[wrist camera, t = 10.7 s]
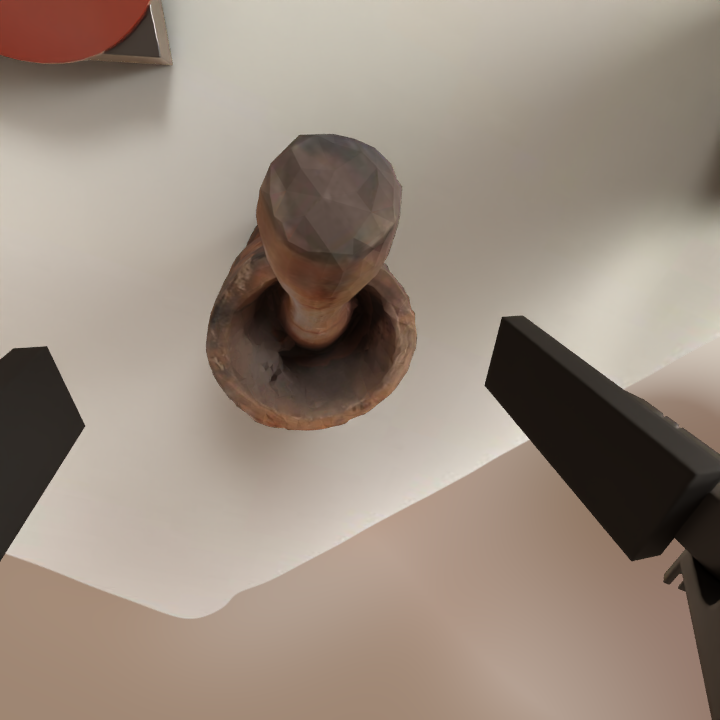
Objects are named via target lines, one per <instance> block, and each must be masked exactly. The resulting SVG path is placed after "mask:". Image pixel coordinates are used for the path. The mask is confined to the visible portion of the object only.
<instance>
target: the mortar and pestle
mask: <svg viewBox="0 0 720 720" xmlns="http://www.w3.org/2000/svg"><path fill="white" fill-rule="evenodd" d="M401 196H402V186H401V184H400V183H399V181H398V180H397V178H396V175H395V172H394V169H393V167H392V164H391V163H390V162H389V161H388V160H387V159H386V158H385V157H384V156H383V155H382V154H380V153H379V152H378V151H377V150H376V149H375V148H374V147H372V146H370V145H367V144H365V143H363V142H361V141H358V140H356V139H353V138H348V137H344V136H339V135H335V134H315V135H299V136H298V137H297V138H296V139H295V140H294V141H293V142H292V143H291V144H290V145H289V146H288V147H287V148H286V149H285V150H284V151H283V152H282V153H281V154H280V155H279V156H278V157H277V158H276V159H275V160H274V161H273V162H272V163H271V164H270V166H269V169H268V171H267V173H266V176H265V178H264V180H263V183H262V185H261V188H260V192H259V199H258V204H257V209H256V218H257V224H258V225H257V226H256V228H255V230H254V231H253V233H252V235H251V237H250V239H249V241H248V243H247V247H245V248H244V250H243V251H242V252H241V253H240V254H239V255H238V256H237V258H236V259H235V261H234V263H233V264H232V266H231V269H230V271H229V274H228V276H227V278H226V279H225V281H224V283H223V286H222V288H221V290H220V292H219V294H218V296H217V298H216V301H215V303H214V306H213V309H212V311H211V315H210V320H209V325H208V332H207V341H206V353H207V357H208V361H209V365H210V367H211V370H212V373H213V375H214V377H215V379H216V380H217V382H218V384H219V386H220V387H221V388H222V389H223V391H224V392H225V393H226V395H227V396H228V397H229V398H230V399H231V400H232V401H233V402H234V403H235V404H236V406H237V407H239V408H240V409H242V410H243V411H244V412H246V413H247V414H248V415H249V416H251V417H252V419H253V420H254V421H255V422H258V423H260V424H263V425H266V426H269V427H274V428H286V429H287V430H319V429H325V428H329V427H333V426H338V425H342V424H345V423H347V422H348V421H349V420H350V419H352V418H355V417H357V416H360V415H364V414H366V413H367V412H369V411H370V410H371V409H373V408H374V407H375V406H376V405H377V404H379V403H380V402H381V401H382V400H384V399H385V398H386V397H388V396H389V395H390V394H391V393H392V392H393V391H394V390H395V388H396V387H397V386H398V384H399V383H400V381H401V380H402V378H403V377H404V375H405V374H406V373H407V371H408V369H409V366H410V362H411V359H412V356H413V354H414V351H415V349H416V341H417V332H416V326H415V313H414V312H413V310H412V309H411V305H410V300H409V297H408V295H407V294H406V292H405V290H404V288H403V287H402V285H401V284H400V283H399V282H398V281H397V280H396V278H395V277H394V275H393V274H392V273H391V272H390V271H389V269H388V266H387V265H386V264H385V263H384V261H385V260H386V258H387V256H388V254H389V251H390V248H391V245H392V242H393V239H394V236H395V233H396V230H397V226H398V222H399V218H400V210H401Z"/></svg>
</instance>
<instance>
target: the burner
mask: <svg viewBox="0 0 720 720" xmlns="http://www.w3.org/2000/svg"><path fill="white" fill-rule="evenodd" d="M151 2H152V0H0V55H1V56H5V57H9V58H13V59H17V60H21V61H26V62H33V63H41V64H67V63H73V62H78V61H84V60H87V59H90V58H92V57H95V56H98V55H101V54H103V53H105V52H106V51H108V50H110V49H111V48H113V47H115V46H116V45H118V44H119V43H120V42H121V41H122V40H123V39H125V38H126V37H127V36H128V35H129V34H130V33H131V32H132V31H133V30H134V28H135V27H136V26H137V25H138V23H139V22H140V21H141V19H142V18H143V17H144V15H145V13H146V11H147V9H148V7H149V6H150V4H151Z"/></svg>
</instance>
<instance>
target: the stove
mask: <svg viewBox="0 0 720 720" xmlns="http://www.w3.org/2000/svg"><path fill="white" fill-rule="evenodd" d="M87 60H95V61H111V62H127V63H143V64H159V65H173V62H172V56H171V51H170V46H169V40H168V35H167V29H166V24H165V19H164V13H163V8H162V3H161V0H152V2H151V4H150V6H149V7H148V9H147V11H146V13H145V15H144V17H143V18H142V19H141V21H140V22H139V23H138V25H137V26H136V27H135V28H134V30H133V31H132V32H131V33H130V34H129V35H128V36H127V37H126V38H125V39H123V40H122V41H121V42H120V43H119V44H118V45H116V46H115V47H113V48H111V49H110V50H108V51H106V52H105V53H103V54H101V55H98V56H95V57H92V58H90V59H87Z"/></svg>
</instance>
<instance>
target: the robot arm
mask: <svg viewBox="0 0 720 720" xmlns="http://www.w3.org/2000/svg"><path fill="white" fill-rule="evenodd" d="M485 387H486V388H487V389H488V390H489V391H490V392H491V394H492V395H493V396H494V397H495V398H496V400H497V401H498V402H499V403H500V404H501V406H502V407H503V408H504V409H505V410H506V412H507V413H508V414H509V415H510V416H511V418H512V419H513V420H514V421H515V422H516V424H517V425H518V426H519V427H520V428H521V430H522V431H523V432H524V433H525V434H526V436H527V437H528V438H529V439H530V440H531V442H532V443H533V444H534V445H535V446H536V448H537V449H538V450H539V451H540V452H541V454H542V455H543V456H544V457H545V458H546V460H547V461H548V462H549V463H550V464H551V466H552V467H553V468H554V469H555V470H556V471H557V473H558V474H559V475H560V476H561V478H562V479H563V480H564V481H565V482H566V483H567V485H568V486H569V487H570V488H571V489H572V491H573V492H574V493H575V494H576V495H577V497H578V498H579V499H580V500H581V501H582V503H583V504H584V505H585V506H586V507H587V509H588V510H589V511H590V512H591V513H592V515H593V516H594V517H595V518H596V519H597V521H598V522H599V523H600V524H601V525H602V527H603V528H604V529H605V530H606V531H607V533H609V535H610V536H611V537H612V539H613V540H614V541H615V542H616V543H617V544H618V546H619V547H620V548H621V549H622V550H623V552H624V553H625V554H626V555H627V556H628V558H629V559H630V560H631V561H635V560H640V559H644V558H649V557H654V556H658V555H661V554H662V553H663V551H664V550H665V549H666V548H667V546H668V545H669V544H670V542H671V541H672V540H673V539H674V538H675V539H676V540H677V541H678V542H680V544H681V545H682V546H683V547H685V550H684V551H683V553H682V554H681V555H680V556H679V557H678V559H677V560H676V561H675V562H674V563H673V565H672V566H671V567H670V568H669V569H668V570H667V571H666V573H665V574H664V581H663V582H664V583H666V584H671V582H672V581H673V580H674V579H675V578H676V577H677V576H678V574H682V575H683V581H682V583H681V584H680V585H679V587H678V589H680V590H683V591H685V592H686V595H687V600H688V605H689V609H690V614H691V619H692V624H693V629H694V634H695V639H696V644H697V649H698V654H699V659H700V664H701V668H702V673H703V678H704V683H705V688H706V693H707V698H708V703H709V708H710V713H711V717H712V720H720V454H719V453H717V452H716V451H714V450H713V449H712V448H710V447H709V446H708V445H706V444H705V443H703V442H702V441H701V440H699V439H698V438H696V437H695V436H694V435H692V434H691V433H690V432H688V431H687V430H685V429H684V428H679V425H678V424H677V423H676V422H674V421H673V420H672V419H670V418H669V417H667V416H665V417H664V416H663V413H662V412H660V411H659V410H658V409H656V408H655V407H654V406H652V405H651V404H649V403H648V402H647V401H645V400H644V399H641V398H639V397H637V396H635V395H633V394H631V393H629V392H627V391H625V390H623V389H622V388H620V387H619V386H618V385H616V384H615V383H614V382H612V381H611V380H610V379H608V378H607V377H606V376H604V375H603V374H601V373H600V372H599V371H597V370H596V369H595V368H593V367H592V366H591V365H589V364H588V363H587V362H585V361H584V360H582V359H581V358H580V357H578V356H577V355H576V354H574V353H573V352H572V351H570V350H569V349H568V348H566V347H565V346H563V345H562V344H561V343H559V342H558V341H557V340H555V339H554V338H553V337H551V336H550V335H549V334H547V333H546V332H544V331H543V330H542V329H540V328H539V327H538V326H536V325H535V324H534V323H532V322H531V321H530V320H528V319H527V318H526V317H524V316H509V317H502V319H501V323H500V327H499V330H498V334H497V338H496V342H495V346H494V350H493V354H492V358H491V362H490V366H489V370H488V374H487V378H486V381H485ZM84 427H85V424H84V422H83V420H82V418H81V416H80V414H79V412H78V410H77V408H76V406H75V404H74V402H73V399H72V397H71V395H70V393H69V391H68V389H67V387H66V385H65V383H64V381H63V379H62V377H61V374H60V372H59V370H58V368H57V366H56V364H55V362H54V360H53V358H52V356H51V354H50V352H49V349H48V347H47V346H46V347H30V348H15V349H12V350H11V351H10V352H9V353H7V354H6V355H5V356H4V357H3V358H2V359H0V561H1V559H2V558H3V556H4V555H5V553H6V551H7V550H8V548H9V547H10V545H11V543H12V542H13V540H14V539H15V537H16V535H17V534H18V532H19V531H20V529H21V528H22V526H23V524H24V523H25V521H26V520H27V518H28V516H29V515H30V513H31V512H32V510H33V508H34V507H35V505H36V504H37V502H38V500H39V499H40V497H41V496H42V494H43V492H44V491H45V489H46V488H47V486H48V485H49V483H50V481H51V480H52V478H53V477H54V475H55V473H56V472H57V470H58V469H59V467H60V465H61V464H62V462H63V461H64V459H65V457H66V456H67V454H68V453H69V451H70V450H71V448H72V446H73V445H74V443H75V442H76V440H77V438H78V437H79V435H80V434H81V432H82V430H83V429H84Z"/></svg>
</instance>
